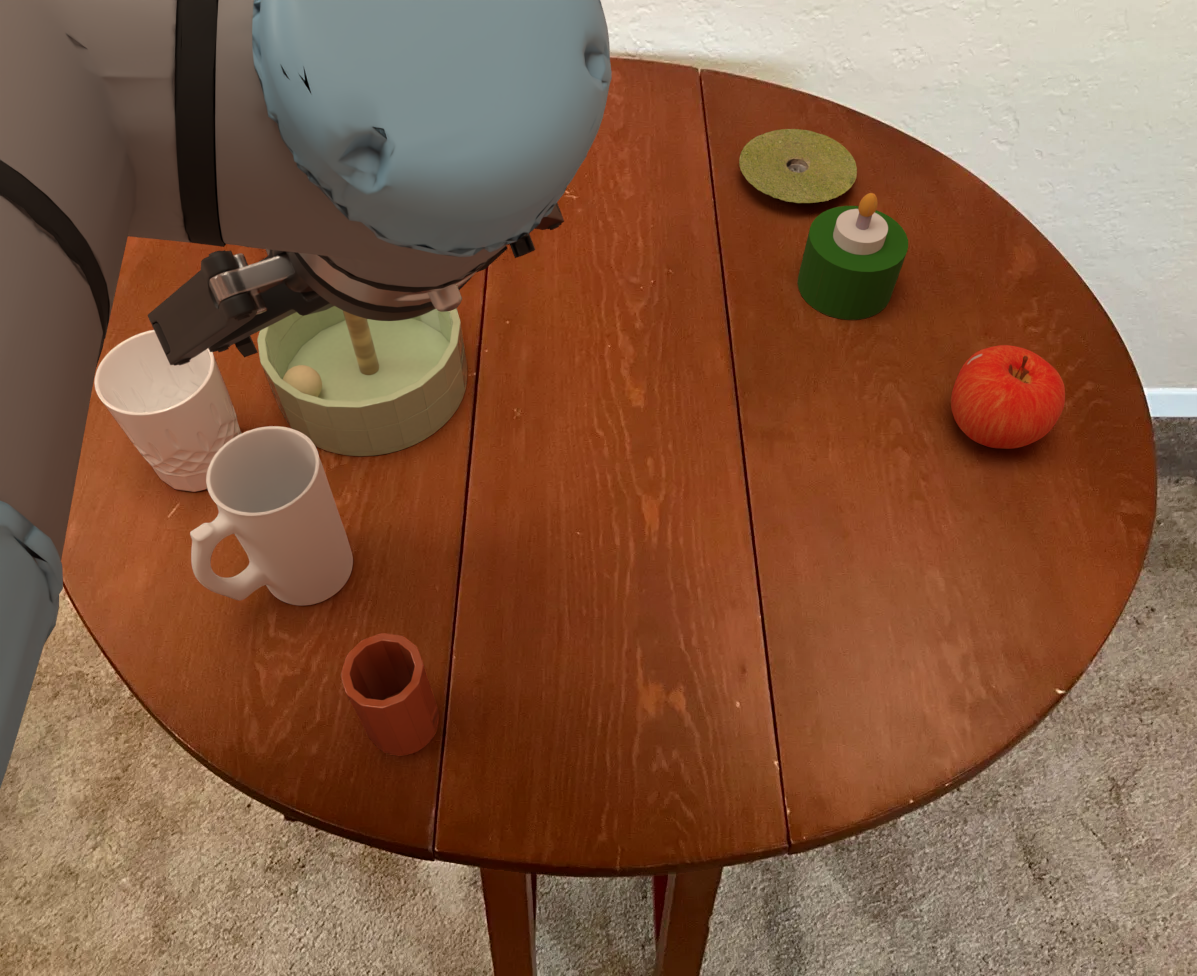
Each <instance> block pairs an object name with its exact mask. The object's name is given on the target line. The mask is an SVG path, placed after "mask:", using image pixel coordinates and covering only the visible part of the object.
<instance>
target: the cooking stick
mask: <svg viewBox="0 0 1197 976" xmlns="http://www.w3.org/2000/svg"><path fill="white" fill-rule="evenodd" d="M343 313H344V317H345V320H346V324H347V327H348V331H349V334H350V338H351V341H352V345H353V348H354V352H355V355H356V359H357V362H358V366H359V369H360V372H361V373H362V374H364V375H372V374H375V373H376V372H377V371H378V370H379V363H378V359H377V355H376V351H375V348H374V344H373V340H372V336H371V332H370V328H369V325H368V321H367V319H366V318H362V317H358V316H355V315H353V314H350V313H348V312H345V311H343Z"/></svg>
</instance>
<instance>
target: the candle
mask: <svg viewBox="0 0 1197 976" xmlns="http://www.w3.org/2000/svg"><path fill="white" fill-rule="evenodd" d="M878 204H879V203H878V197H877V195H876V194H875V193H873V192H870V193H869V192H868V193H867V194H865V195H864V196H863V197H862V198H861V200H860V201H859V204H858V205H841V206H836V207H832V208H829V209H826V210H824V211H822V212H821V213H819V214H818V215H817V216H816V217H815V218H814V219H813V221H812V222H811V224H810V227H809V230H808V234H807V238H806V243H805V246H804V251H803V254H802V259H801V262H800V267H799V271H798V274H797V282H796V283H797V288H798V291H799V293H800V296H801V297H802V298H803V300H804V301H805V303H807V305H808V306H810V307H812V309H814V310H816V311H818V313H821V314H823V315H825V316H827V317H831V318H835V319H838V320H847V321H857V320H862V319H863V320H864V319H868V318H871V317H874V316H876V315H877V314H879V313H881V312H883V310H884V309H885V308H887V306H888V305H889V303H890V301H891V298H892V295H893V293H894V290H895V287H896V284H897V281H898V279H899V275H900V273H901V270H902V267H903V264H904V262H905V259H906V256H907V253H908V251H909V239H908V236H907V233H906V231H905V230H904V228H903V226H901V225H900V223H899V222H898V221H897V220H895V219H894V218H893V217H891V216H889V215H888V214H885V213H884V212H882V211H879V210H877V209H878Z"/></svg>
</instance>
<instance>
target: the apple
mask: <svg viewBox="0 0 1197 976" xmlns="http://www.w3.org/2000/svg"><path fill="white" fill-rule="evenodd" d="M950 397H951V398H950V406H951V407H950V408H951V412H952V416H953V419H954V421H955V422H956V424H957V426H958V427H959V429H960V430H961V431H962V432H963V433H964V434H965V436H966V437H968V439H970V440H971V441H973V442H975V443H977V444H980V445H983V446H985V447H988V448H992V449H1007V450H1008V449H1018V448H1019V449H1020V448H1023V447H1026V446H1028V445H1031V444H1033V443H1036V442H1037V441H1039V440H1041V439H1042V438H1044V437H1045V436H1047V434H1049V433H1050V432H1051V431H1052V430H1053V428H1055V426H1056V424H1057V422H1058V421H1059V419H1060V417H1061V416H1062V413H1063V410H1064V408H1065V404H1066V388H1065V383H1064V380H1063V378H1062V377H1061V375H1060V373H1059V372H1058V370H1057V369H1056V368H1055V367H1054V366H1053V365H1052V364H1051V363H1049V362H1048V361H1047V360H1046V359H1044V358H1043V357H1041V356H1040V355H1039V354H1037V353H1035V351H1034V352H1033V351H1031V350H1029V349H1027V348H1024V347H1020V346H1016V345H1009V344H998V345H994V346H990V347H986V348H983V349H980V350H978V351H976V352H975V353H973V354H972V355H970V356H969V357H968V358H967V359H966V361H965V362H964V363H963V364H962V366H961V368H960V370H959V372H958V374H957V376H956V379H955V381H954V385H953V387H952V391H951V396H950Z"/></svg>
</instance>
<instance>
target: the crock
mask: <svg viewBox="0 0 1197 976" xmlns="http://www.w3.org/2000/svg"><path fill="white" fill-rule="evenodd" d="M340 678H341V682H342V685H343V688H344V692H345V695H346V696H347V699H348V701H349V702H350V704H351V706H352V708H353V710H354V712H355V714H356V715H357V717H358V720H359V722H360V724H361V725H362V728H363V730H364V731H365V733H366V735H367V738H368V739H369V740H370V741H371V742H372V744H373V745H374V746H375V747H376V748H377V749H378V750H380V751H381V752H383V753H385V754H388V755H391V756H398V757H399V756H400V757H401V756H408V755H411V754H415V753H417V752H419V751H420V750H422V749H423V748H425V747H426V746H427V745H429V743H430V742H431V741H432V740H433V739H434V737H435V735H436V733H437V731H438V728H439V723H440V711H439V707H438V705H437V702H436V698H435V695H434V692H433V689H432V686H431V683H430V680H429V677H428V674H427V670H426V667H425V665H424V662H423V659H422V655H421V653H420V650H419V647H418V645H416V644H414V642H412V641H410V640H409V639H408V638H407V637H405V636H404V635H401V634H393V633H384V632H381V633H378V634H374V635H372V636H369V637H366V638H364V639H362V640H360V641H359V642H358V643H357V644H356V645H355V646H354V647H353V649H351V650H350V651H349V652H348V653H347V655H346V656H345V660H344V662H343V665H342V670H341V672H340Z"/></svg>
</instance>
